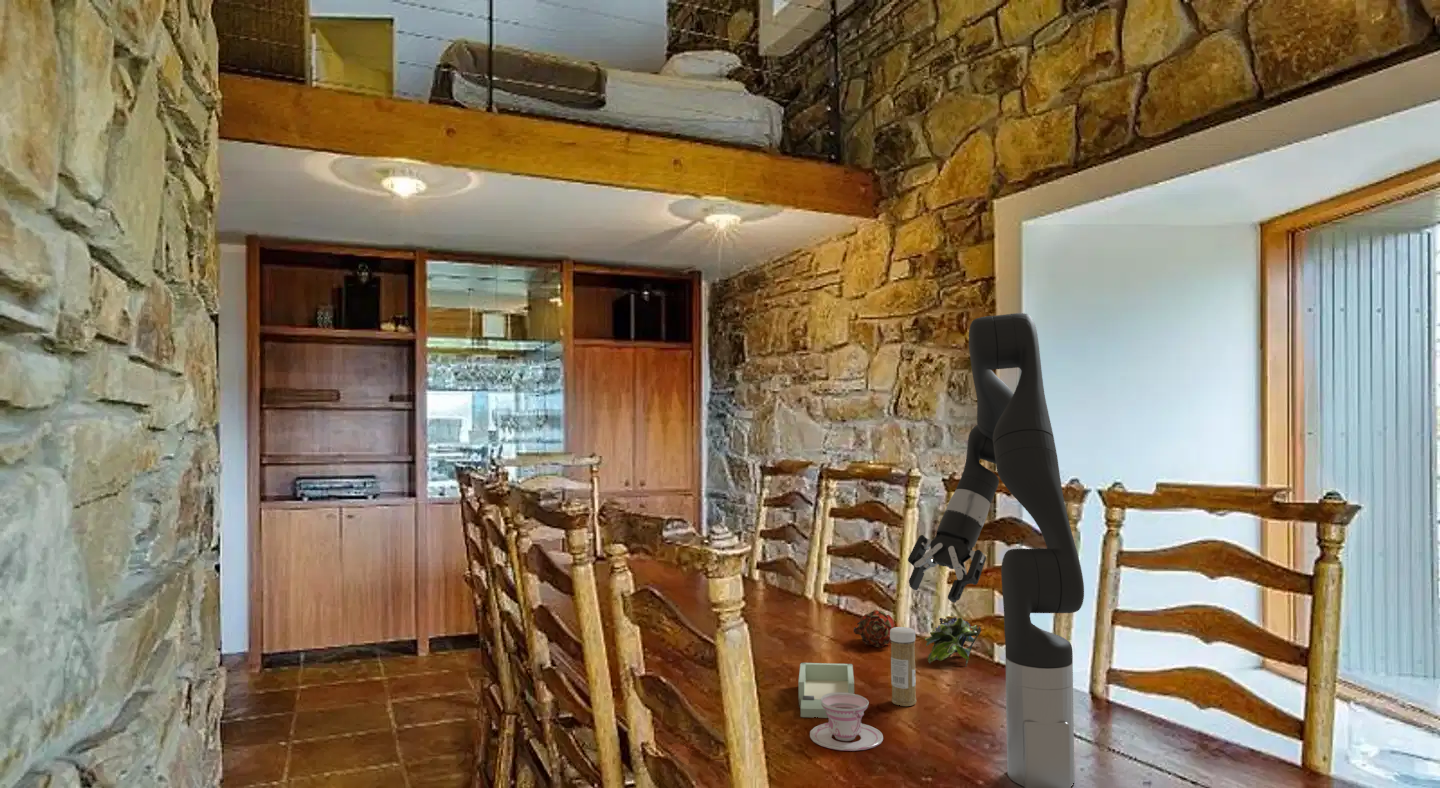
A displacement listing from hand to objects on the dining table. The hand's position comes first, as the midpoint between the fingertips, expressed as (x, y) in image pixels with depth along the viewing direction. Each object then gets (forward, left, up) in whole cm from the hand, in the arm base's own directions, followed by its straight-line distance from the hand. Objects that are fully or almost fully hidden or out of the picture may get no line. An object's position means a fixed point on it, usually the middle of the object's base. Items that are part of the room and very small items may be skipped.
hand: (931, 594), depth 164 cm
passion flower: (+23, -7, -19) cm, 31 cm away
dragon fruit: (+35, +9, -19) cm, 41 cm away
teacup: (-22, +16, -19) cm, 33 cm away
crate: (-5, +20, -19) cm, 28 cm away
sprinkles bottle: (-4, +6, -19) cm, 20 cm away
